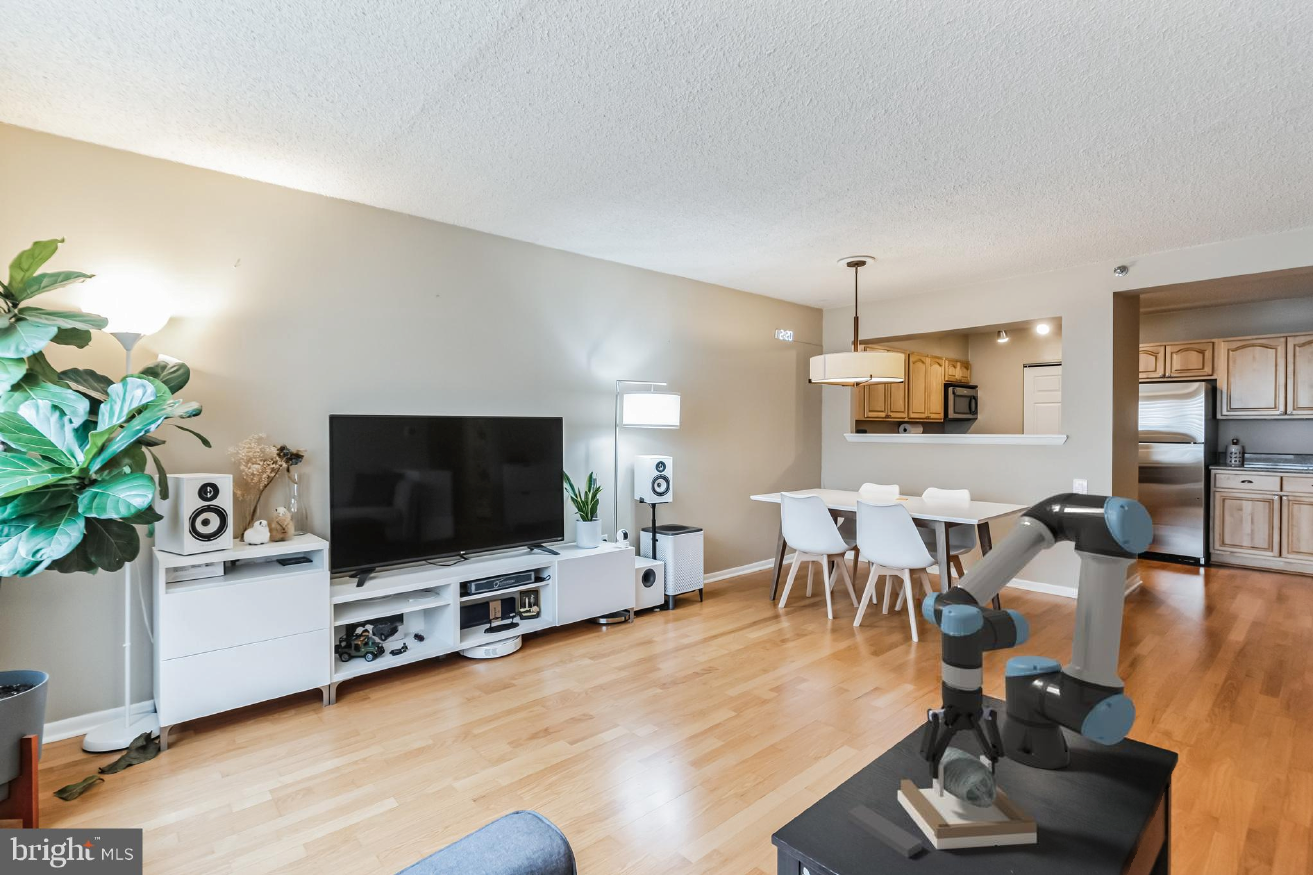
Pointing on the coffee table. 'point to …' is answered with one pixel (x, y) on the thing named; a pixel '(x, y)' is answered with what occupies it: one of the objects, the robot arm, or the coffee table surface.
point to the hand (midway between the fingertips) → (962, 791)
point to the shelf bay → (966, 819)
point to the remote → (885, 831)
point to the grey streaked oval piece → (968, 778)
